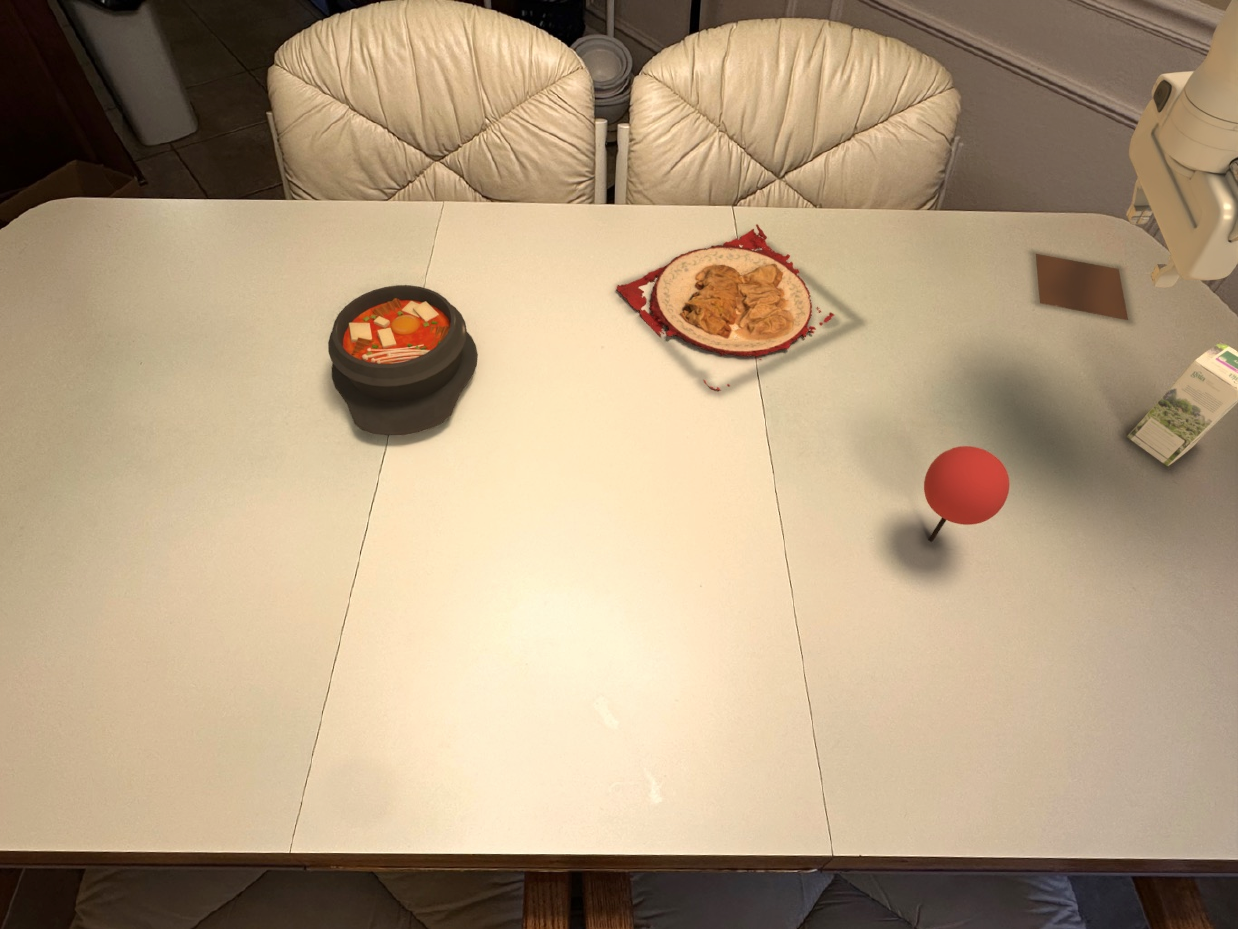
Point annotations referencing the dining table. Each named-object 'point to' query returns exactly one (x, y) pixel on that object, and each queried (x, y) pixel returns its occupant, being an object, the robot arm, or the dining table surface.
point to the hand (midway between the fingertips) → (1147, 250)
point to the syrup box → (1190, 405)
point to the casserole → (400, 359)
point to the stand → (1080, 286)
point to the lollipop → (965, 486)
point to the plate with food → (728, 298)
